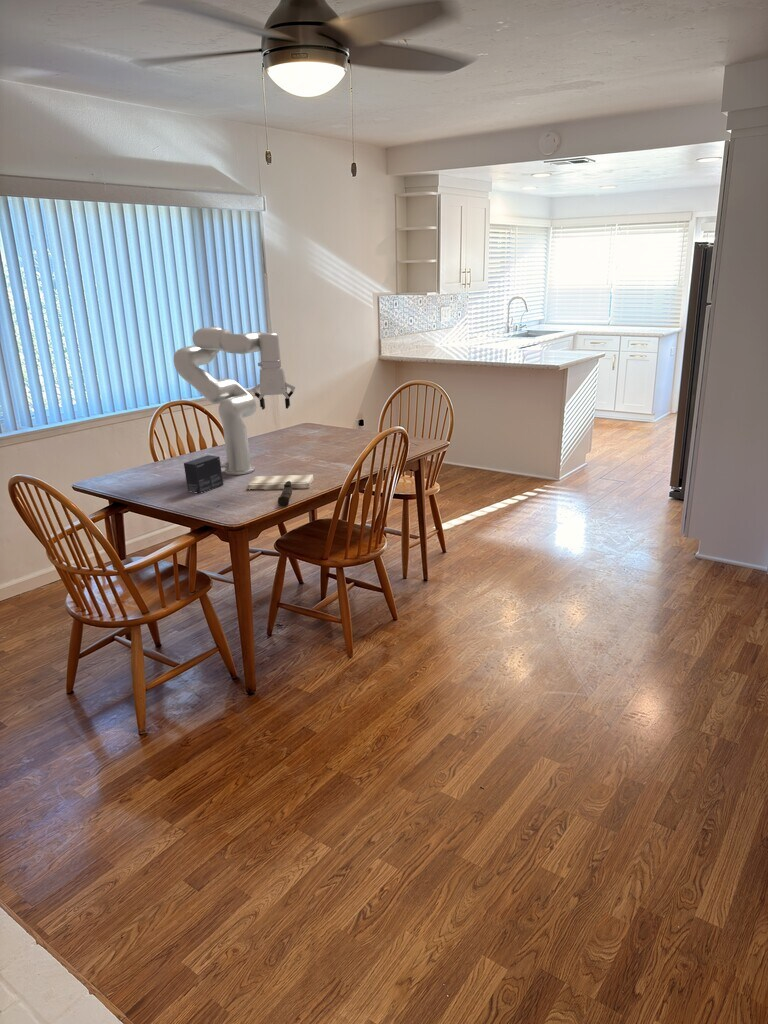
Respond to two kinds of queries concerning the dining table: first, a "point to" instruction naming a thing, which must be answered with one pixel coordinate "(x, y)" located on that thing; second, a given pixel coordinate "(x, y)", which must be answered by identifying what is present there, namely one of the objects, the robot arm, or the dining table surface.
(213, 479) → the small box
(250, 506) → the dining table surface
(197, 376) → the robot arm
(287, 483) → the hand tool
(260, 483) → the birch board
